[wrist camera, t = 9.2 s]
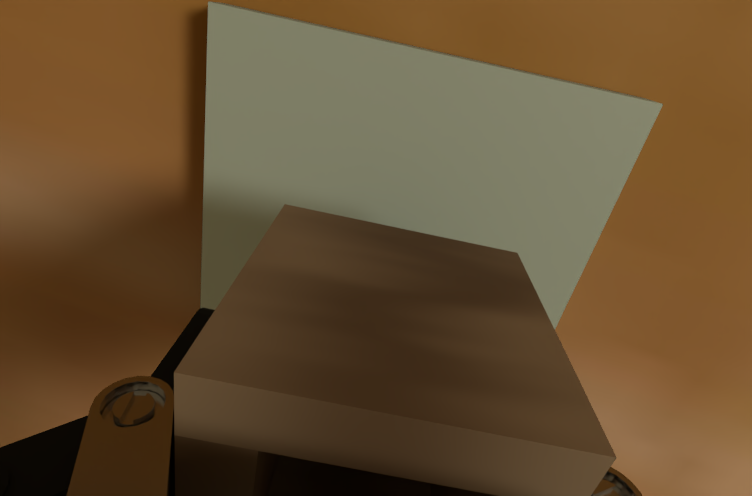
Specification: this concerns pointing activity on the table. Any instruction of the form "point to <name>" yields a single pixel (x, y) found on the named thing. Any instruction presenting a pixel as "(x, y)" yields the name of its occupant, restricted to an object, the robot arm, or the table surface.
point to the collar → (381, 374)
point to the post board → (405, 147)
